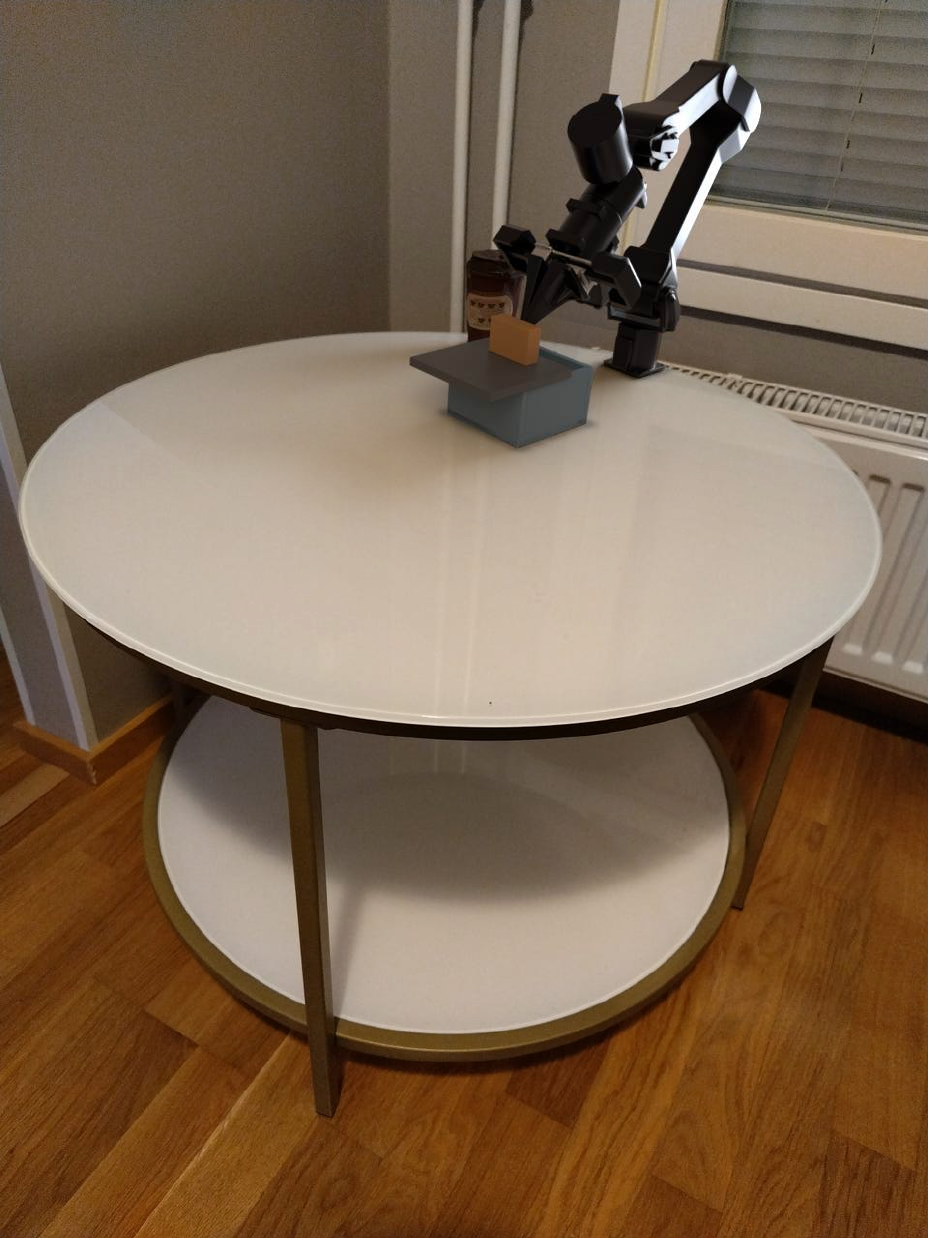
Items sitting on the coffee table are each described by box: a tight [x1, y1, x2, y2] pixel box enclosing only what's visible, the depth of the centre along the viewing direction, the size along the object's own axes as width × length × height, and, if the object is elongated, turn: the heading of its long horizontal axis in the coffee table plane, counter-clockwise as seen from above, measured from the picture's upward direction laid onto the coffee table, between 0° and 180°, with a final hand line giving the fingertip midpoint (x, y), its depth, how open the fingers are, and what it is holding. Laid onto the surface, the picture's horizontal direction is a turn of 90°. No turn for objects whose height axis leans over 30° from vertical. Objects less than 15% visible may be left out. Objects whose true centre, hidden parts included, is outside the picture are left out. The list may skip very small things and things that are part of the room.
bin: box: [446, 345, 595, 449], centre depth 102 cm, size 12×12×7 cm
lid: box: [409, 313, 572, 402], centre depth 96 cm, size 13×13×5 cm
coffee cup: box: [465, 248, 526, 343], centre depth 121 cm, size 9×8×13 cm
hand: (523, 326), depth 98 cm, fingers closed
